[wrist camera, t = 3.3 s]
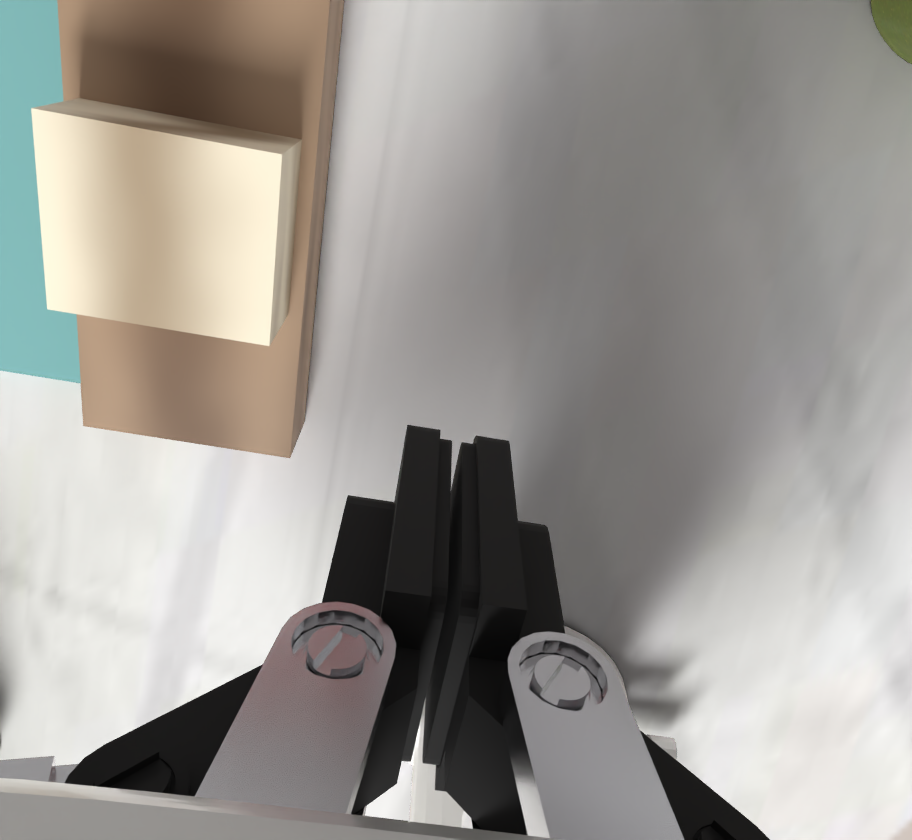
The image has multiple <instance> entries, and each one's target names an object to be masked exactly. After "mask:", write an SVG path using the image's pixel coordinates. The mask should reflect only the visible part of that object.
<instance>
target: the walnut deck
mask: <svg viewBox="0 0 912 840" xmlns="http://www.w3.org/2000/svg"><path fill="white" fill-rule="evenodd" d="M57 3H58V19H59V36H60V52H61V68H62V85H63V101H68V100H73V99H77V98H82V99H87V100H92V101H98V102H103V103H108V104H114V105H119V106H124V107H130V108H135V109H141V110H146V111H151V112H157V113H162V114H167V115H173V116H178V117H183V118H189V119H194V120H200V121H205V122H210V123H216V124H221V125H226V126H232V127H237V128H242V129H248V130H253V131H259V132H264V133H269V134H275V135H280V136H285V137H291V138H296V139H301V140H302V146H301V159H300V172H299V185H298V198H297V210H296V223H295V236H294V249H293V262H292V275H291V288H290V300H289V313H288V316H287V317H286V319H285V321H284V322H283V324H282V326H281V327H280V329H279V331H278V332H277V334H276V336H275V338H274V339H273V341H272V343H271V344H270V346H265V345H259V344H253V343H247V342H241V341H235V340H229V339H223V338H217V337H211V336H205V335H199V334H193V333H187V332H181V331H175V330H169V329H163V328H157V327H151V326H145V325H139V324H133V323H127V322H121V321H115V320H109V319H103V318H97V317H91V316H85V315H79V314H77V330H78V346H79V363H80V379H81V396H82V412H83V426H87V427H94V428H100V429H106V430H113V431H119V432H126V433H132V434H139V435H145V436H151V437H158V438H164V439H171V440H177V441H184V442H190V443H196V444H203V445H209V446H216V447H222V448H229V449H235V450H241V451H248V452H254V453H261V454H267V455H274V456H280V457H286V458H290V457H291V454H292V452H293V449H294V447H295V444H296V442H297V439H298V437H299V434H300V432H301V429H302V427H303V424H304V420H305V410H306V399H307V388H308V378H309V367H310V357H311V346H312V336H313V325H314V315H315V304H316V294H317V283H318V272H319V262H320V251H321V241H322V230H323V220H324V209H325V199H326V188H327V178H328V167H329V156H330V146H331V135H332V125H333V114H334V104H335V93H336V83H337V72H338V62H339V51H340V40H341V30H342V19H343V9H344V0H57Z"/></svg>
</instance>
